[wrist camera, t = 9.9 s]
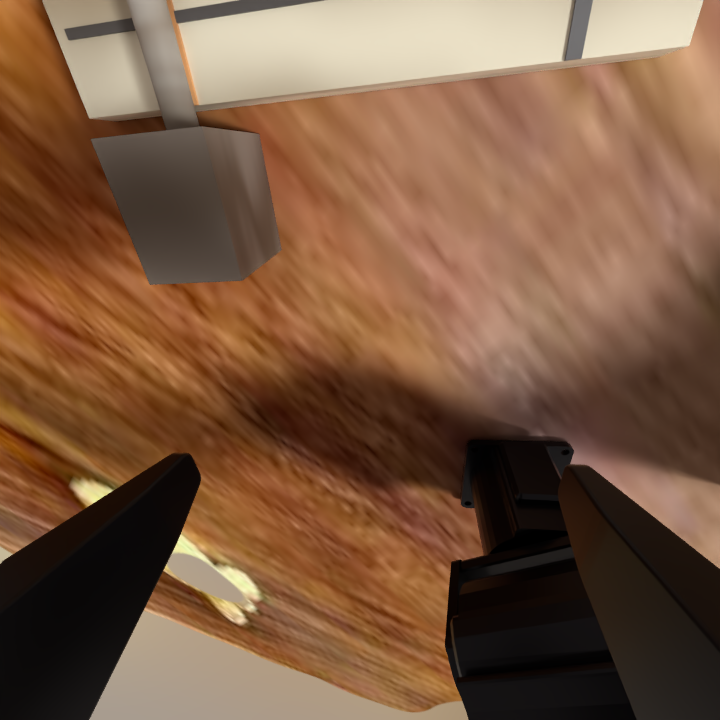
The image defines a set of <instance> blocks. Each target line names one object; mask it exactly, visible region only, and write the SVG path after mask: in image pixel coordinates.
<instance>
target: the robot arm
mask: <svg viewBox="0 0 720 720" xmlns="http://www.w3.org/2000/svg"><path fill="white" fill-rule="evenodd" d="M473 447H476V448H473ZM562 450H563V451H562ZM573 453H574V450H573V448H572V446H571V445H570V444H569V443H567V442H542V441H499V440H471V441H469V442H468V443H467V445H466V452H465V461H464V470H463V479H462V487H461V496H460V500H461V505H462V506H463V507H466V508H475V512H476V517H477V522H478V528H479V533H480V538H481V543H482V548H483V553H484V556H480V557H476V558H472V559H468V560H464V561H462V560H456V561H452V562H451V573H450V584H449V597H448V611H447V624H446V638H445V648H446V652H447V655H448V660H449V664H450V667H451V671H452V675H453V678H454V681H455V684H456V687H457V689H458V691H459V694H460V696H461V698H462V701H463V704H464V706H465V709H466V712H467V715H468V719H469V720H720V569H719V568H718V567H716V566H715V565H714V564H713V563H711V562H710V561H709V560H708V559H706V558H705V557H704V556H703V555H701V554H700V553H699V552H697V551H696V550H695V549H694V548H692V547H691V546H690V545H689V544H687V543H686V542H685V541H684V540H682V539H681V538H680V537H678V536H677V535H676V534H675V533H673V532H672V531H671V530H670V529H668V528H667V527H666V526H665V525H663V524H662V523H661V522H659V521H658V520H657V519H656V518H654V517H653V516H652V515H651V514H649V513H648V512H647V511H646V510H644V509H643V508H642V507H641V506H639V505H638V504H637V503H635V502H634V501H633V500H632V499H630V498H629V497H628V496H627V495H625V494H624V493H623V492H622V491H620V490H619V489H618V488H616V487H615V486H614V485H613V484H611V483H610V482H609V481H608V480H606V479H605V478H604V477H603V476H601V475H600V474H599V473H597V472H596V471H595V470H594V469H592V468H591V467H589V466H587V465H575V464H570V462H571V459H572V456H573ZM200 481H201V475H200V472H199V470H198V468H197V466H196V464H195V462H194V459H193V457H192V456H191V455H190V454H189V453H173V454H171V455H169V456H167V457H166V458H164V459H163V460H161V461H159V462H158V463H156V464H155V465H153V466H152V467H150V468H148V469H147V470H145V471H144V472H142V473H141V474H139V475H137V476H136V477H134V478H133V479H131V480H130V481H128V482H126V483H125V484H123V485H122V486H120V487H118V488H117V489H115V490H114V491H112V492H111V493H109V494H107V495H106V496H104V497H103V498H101V499H100V500H98V501H96V502H95V503H93V504H92V505H90V506H89V507H87V508H85V509H84V510H82V511H81V512H79V513H78V514H76V515H74V516H73V517H71V518H70V519H68V520H67V521H65V522H63V523H62V524H60V525H59V526H57V527H55V528H54V529H52V530H51V531H49V532H48V533H46V534H44V535H43V536H41V537H40V538H38V539H37V540H35V541H33V542H32V543H30V544H29V545H27V546H26V547H24V548H22V549H21V550H19V551H18V552H16V553H15V554H13V555H11V556H10V557H8V558H7V559H5V560H4V561H3V562H2V563H1V564H0V720H89V719H90V717H91V715H92V713H93V711H94V709H95V707H96V705H97V703H98V701H99V699H100V697H101V695H102V693H103V691H104V689H105V687H106V685H107V683H108V681H109V679H110V677H111V674H112V673H113V671H114V669H115V667H116V664H117V663H118V661H119V659H120V657H121V654H122V653H123V651H124V649H125V647H126V645H127V643H128V641H129V639H130V637H131V635H132V633H133V630H134V628H135V626H136V624H137V622H138V620H139V618H140V616H141V614H142V612H143V610H144V608H145V606H146V604H147V602H148V600H149V598H150V596H151V594H152V592H153V590H154V588H155V586H156V584H157V582H158V580H159V578H160V576H161V574H162V572H163V570H164V568H165V566H166V564H167V562H168V560H169V558H170V556H171V554H172V552H173V550H174V548H175V546H176V543H177V541H178V539H179V536H180V534H181V532H182V529H183V527H184V524H185V521H186V519H187V516H188V514H189V511H190V509H191V506H192V503H193V501H194V498H195V496H196V493H197V490H198V488H199V485H200Z"/></svg>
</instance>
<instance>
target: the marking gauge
mask: <svg viewBox="0 0 720 720" xmlns="http://www.w3.org/2000/svg"><path fill="white" fill-rule="evenodd" d="M126 1H127V4H128V7H129V10H130V14H131V17H132V20H133V23H134V27H135V30H136V33H137V36H138V40H139V43H140V46H141V49H142V53H143V56H144V59H145V62H146V65H147V69H148V72H149V75H150V78H151V82H152V85H153V88H154V91H155V95H156V98H157V101H158V104H159V108H160V111H161V114H162V117H163V121H164V124H165V127H166V130H165V131H156V132H147V133H138V134H130V135H121V136H112V137H103V138H94V139H91V141H92V144H93V146H94V149H95V151H96V154H97V156H98V158H99V161H100V163H101V166H102V168H103V171H104V173H105V176H106V178H107V181H108V183H109V185H110V188H111V190H112V193H113V195H114V198H115V200H116V203H117V205H118V208H119V210H120V212H121V215H122V217H123V220H124V222H125V225H126V227H127V230H128V232H129V235H130V237H131V239H132V242H133V244H134V247H135V249H136V252H137V254H138V257H139V259H140V262H141V264H142V266H143V269H144V271H145V274H146V276H147V279H148V281H149V284H150V285H153V284H176V283H199V282H221V281H242V280H244V279H245V278H246V277H248V276H249V275H250V274H251V273H253V272H254V271H255V270H257V269H258V268H259V267H260V266H262V265H263V264H264V263H266V262H267V261H268V260H269V259H271V258H272V257H273V256H275V255H276V254H277V253H278V252H280V251H281V250H282V249H281V244H280V239H279V234H278V229H277V224H276V218H275V213H274V208H273V203H272V198H271V193H270V187H269V182H268V177H267V172H266V167H265V162H264V156H263V151H262V146H261V141H260V136H259V134H256V133H248V132H241V131H233V130H226V129H218V128H211V127H203V126H199V122H198V118H197V114H196V111H195V107H194V103H193V99H192V95H191V92H190V88H189V84H188V80H187V77H186V73H185V69H184V65H183V62H182V58H181V54H180V50H179V46H178V43H177V39H176V35H175V31H174V28H173V24H172V20H171V16H170V13H169V9H168V5H167V1H166V0H126Z"/></svg>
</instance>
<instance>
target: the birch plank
mask: <svg viewBox="0 0 720 720" xmlns="http://www.w3.org/2000/svg"><path fill="white" fill-rule="evenodd" d="M42 1H43V4H44V6H45V9H46V11H47V14H48V16H49V19H50V21H51V24H52V26H53V29H54V31H55V34H56V36H57V39H58V41H59V44H60V47H61V49H62V52H63V54H64V57H65V59H66V62H67V64H68V67H69V69H70V72H71V74H72V77H73V79H74V82H75V84H76V87H77V89H78V92H79V94H80V97H81V99H82V102H83V104H84V107H85V109H86V112H87V114H88V117H89V119H98V120H108V121H123V120H131V119H140V118H148V117H157V116H162V114H161V111H160V108H159V104H158V101H157V98H156V95H155V91H154V88H153V85H152V82H151V78H150V75H149V72H148V69H147V65H146V62H145V59H144V56H143V53H142V49H141V46H140V43H139V40H138V36H137V33H136V30H135V27H134V23H133V20H132V17H131V14H130V10H129V7H128V4H127V1H126V0H42ZM166 1H167V5H168V9H169V13H170V16H171V20H172V24H173V28H174V31H175V35H176V39H177V43H178V46H179V50H180V54H181V58H182V62H183V65H184V69H185V73H186V77H187V80H188V84H189V88H190V92H191V95H192V99H193V103H194V107H195V111H196V112H199V111H207V110H216V109H224V108H233V107H241V106H250V105H258V104H267V103H275V102H283V101H292V100H300V99H309V98H317V97H326V96H334V95H343V94H351V93H360V92H368V91H376V90H385V89H393V88H402V87H410V86H419V85H427V84H436V83H444V82H453V81H461V80H469V79H478V78H486V77H495V76H503V75H512V74H520V73H529V72H537V71H545V70H554V69H562V68H571V67H579V66H588V65H596V64H605V63H613V62H622V61H630V60H638V59H647V58H655V57H661V56H664V55H666V54H669V53H672V52H674V51H677V50H680V49H682V48H685V47H688V46H689V44H690V41H691V38H692V35H693V32H694V28H695V25H696V22H697V19H698V16H699V13H700V9H701V6H702V3H703V0H166Z"/></svg>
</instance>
